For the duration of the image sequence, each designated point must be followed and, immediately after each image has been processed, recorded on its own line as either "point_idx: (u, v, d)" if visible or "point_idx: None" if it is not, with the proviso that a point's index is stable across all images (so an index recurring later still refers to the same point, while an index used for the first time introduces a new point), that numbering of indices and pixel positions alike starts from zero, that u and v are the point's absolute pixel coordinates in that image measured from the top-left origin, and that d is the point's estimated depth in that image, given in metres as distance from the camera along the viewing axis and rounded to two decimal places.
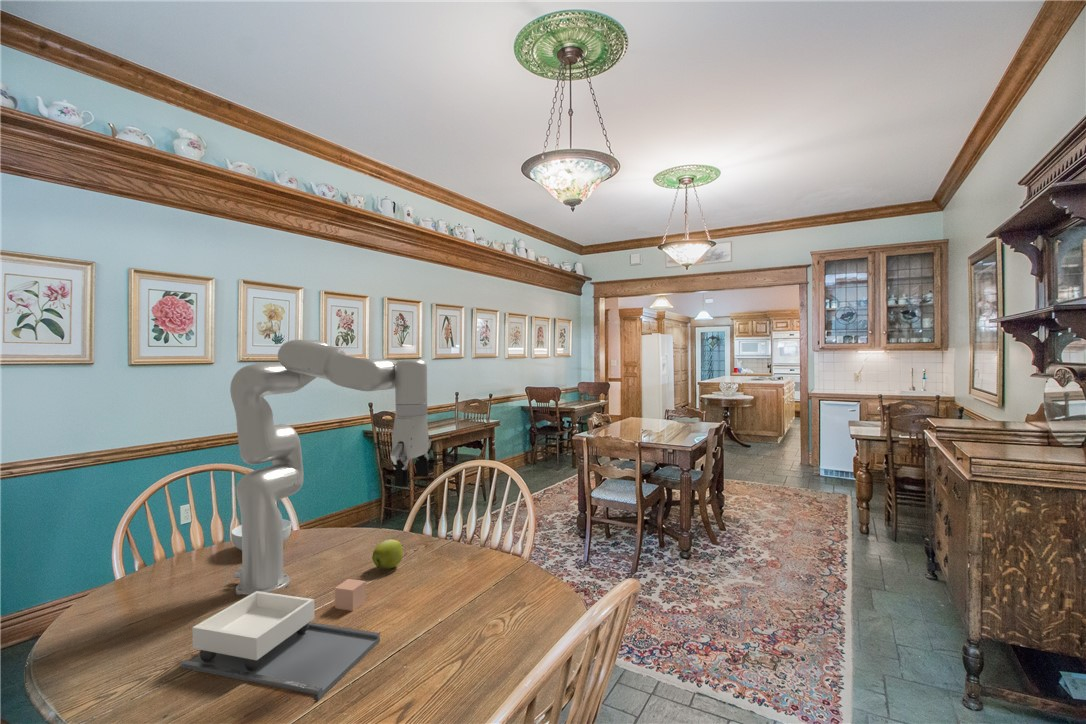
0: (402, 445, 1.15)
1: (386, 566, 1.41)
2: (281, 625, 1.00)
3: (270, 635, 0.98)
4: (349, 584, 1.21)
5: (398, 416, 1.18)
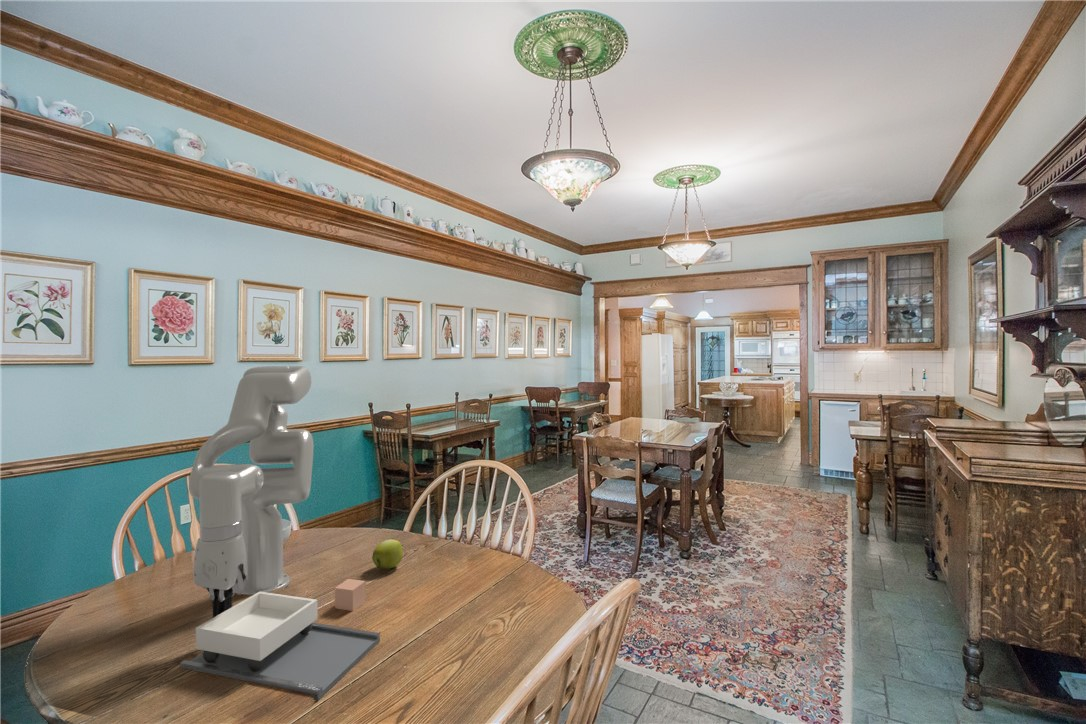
0: None
1: (386, 566, 1.41)
2: (284, 626, 1.00)
3: (273, 636, 0.97)
4: (349, 584, 1.21)
5: (227, 539, 1.04)
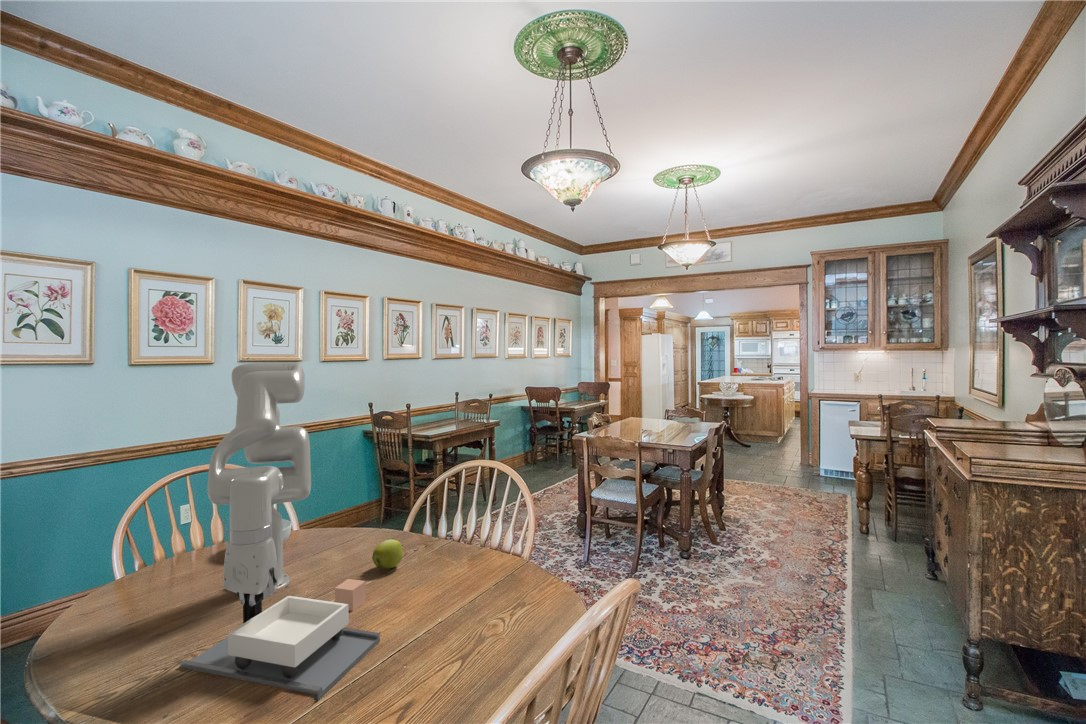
0: None
1: (386, 566, 1.41)
2: (317, 631, 0.98)
3: (307, 641, 0.95)
4: (349, 584, 1.21)
5: (258, 543, 1.02)
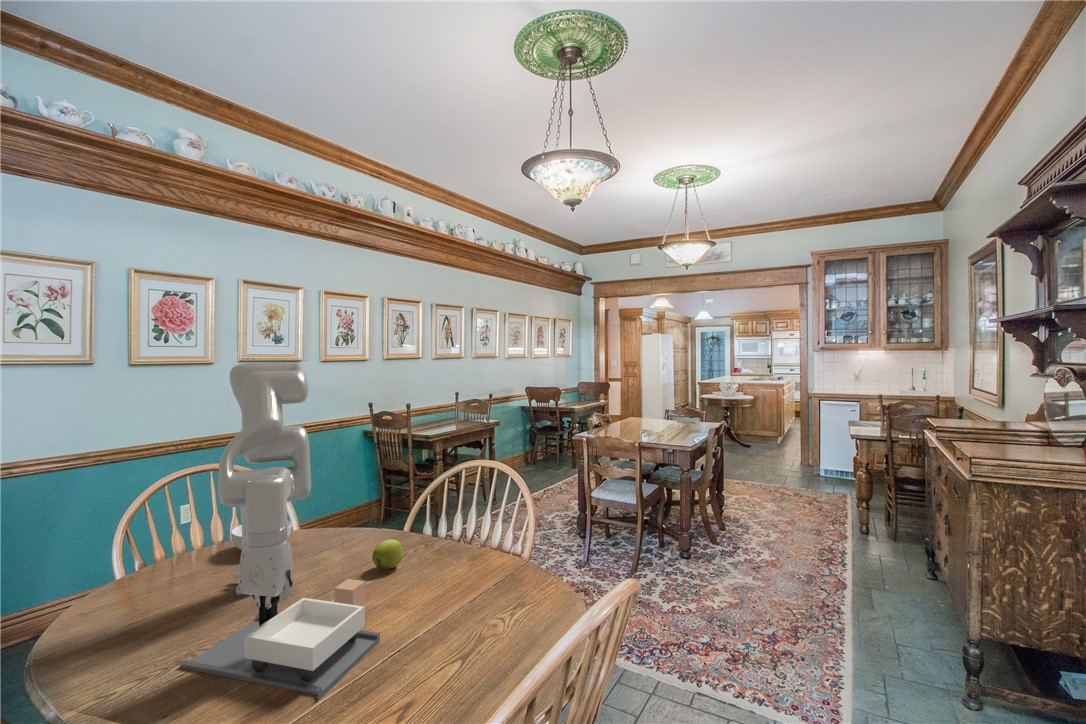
0: None
1: (386, 566, 1.41)
2: (334, 634, 0.97)
3: (325, 644, 0.94)
4: (349, 584, 1.21)
5: (274, 545, 1.01)
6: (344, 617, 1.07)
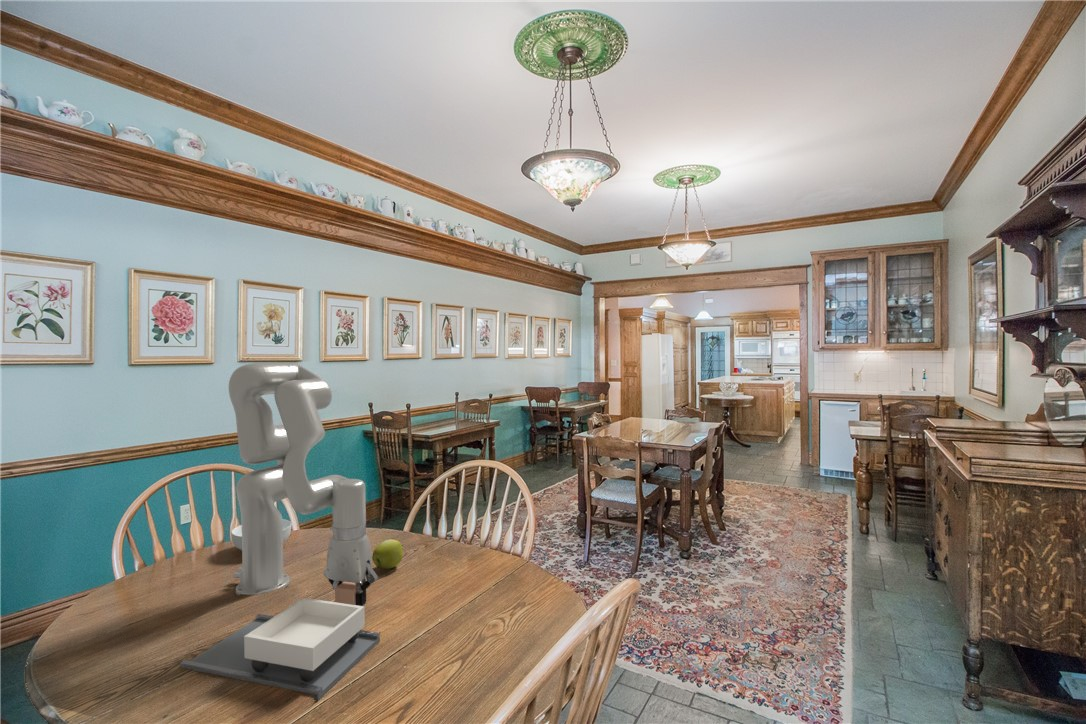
0: None
1: (386, 566, 1.41)
2: (334, 634, 0.97)
3: (325, 644, 0.94)
4: (349, 584, 1.21)
5: (357, 538, 1.19)
6: (344, 617, 1.07)
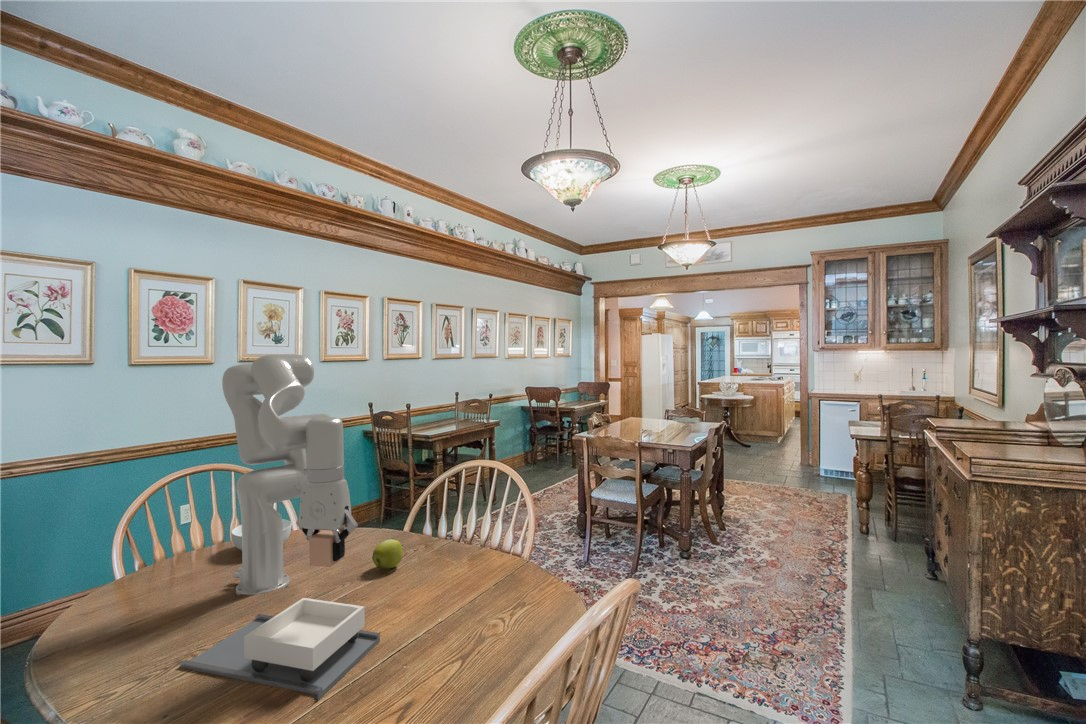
0: None
1: (386, 566, 1.41)
2: (334, 634, 0.97)
3: (325, 644, 0.94)
4: (325, 533, 1.08)
5: (334, 481, 1.06)
6: (344, 617, 1.07)
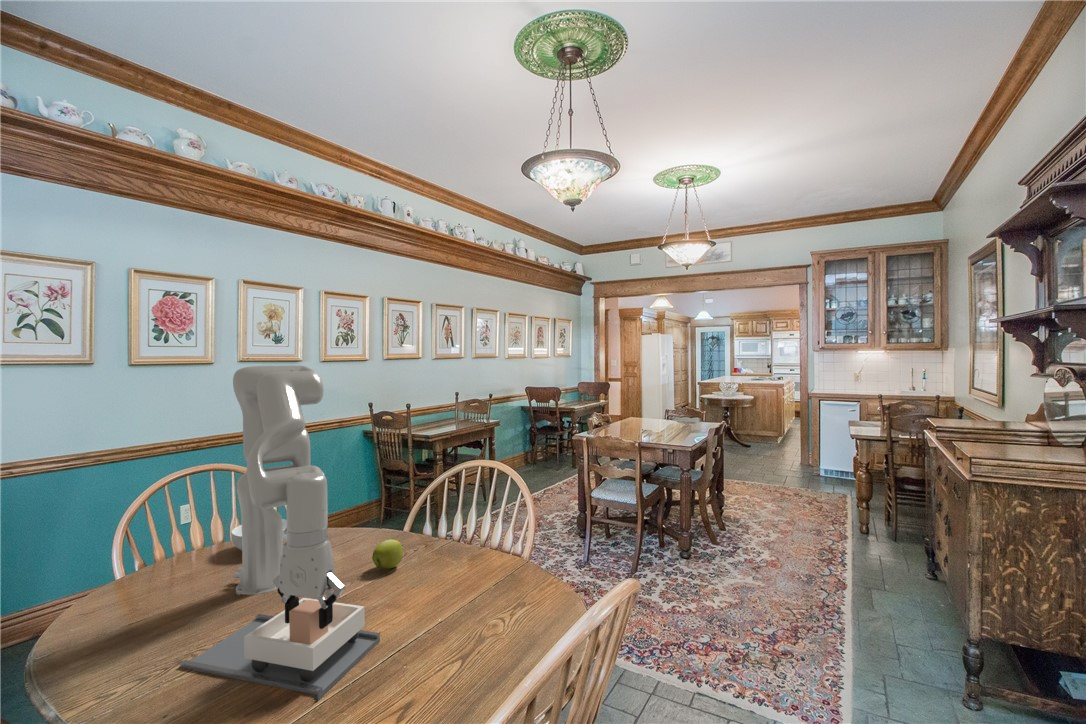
0: None
1: (386, 566, 1.41)
2: (334, 634, 0.97)
3: (325, 644, 0.94)
4: (307, 606, 1.01)
5: (316, 545, 0.98)
6: (344, 617, 1.07)
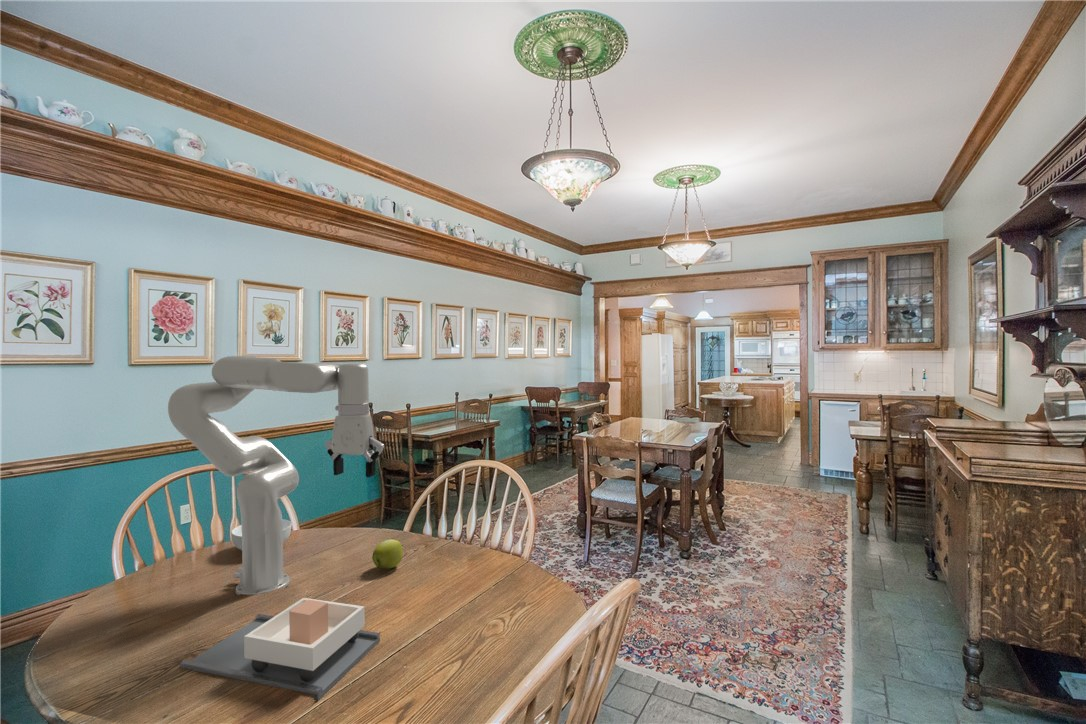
0: None
1: (386, 566, 1.41)
2: (334, 634, 0.97)
3: (325, 644, 0.94)
4: (307, 606, 1.01)
5: (361, 415, 1.28)
6: (344, 617, 1.07)
